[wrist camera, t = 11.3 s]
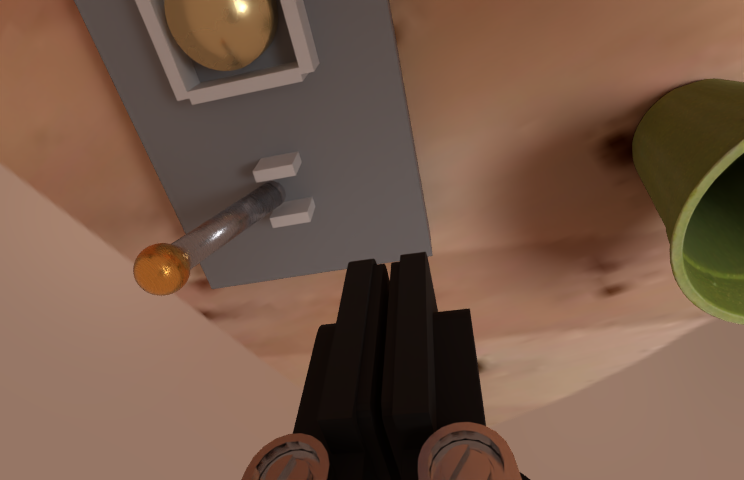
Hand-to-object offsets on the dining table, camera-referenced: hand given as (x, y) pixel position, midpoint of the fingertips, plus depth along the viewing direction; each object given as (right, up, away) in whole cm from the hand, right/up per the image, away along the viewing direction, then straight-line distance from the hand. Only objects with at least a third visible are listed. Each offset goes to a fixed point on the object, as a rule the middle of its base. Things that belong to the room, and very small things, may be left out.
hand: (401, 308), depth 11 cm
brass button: (-8, +13, +14) cm, 21 cm away
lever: (-6, +5, +19) cm, 21 cm away
